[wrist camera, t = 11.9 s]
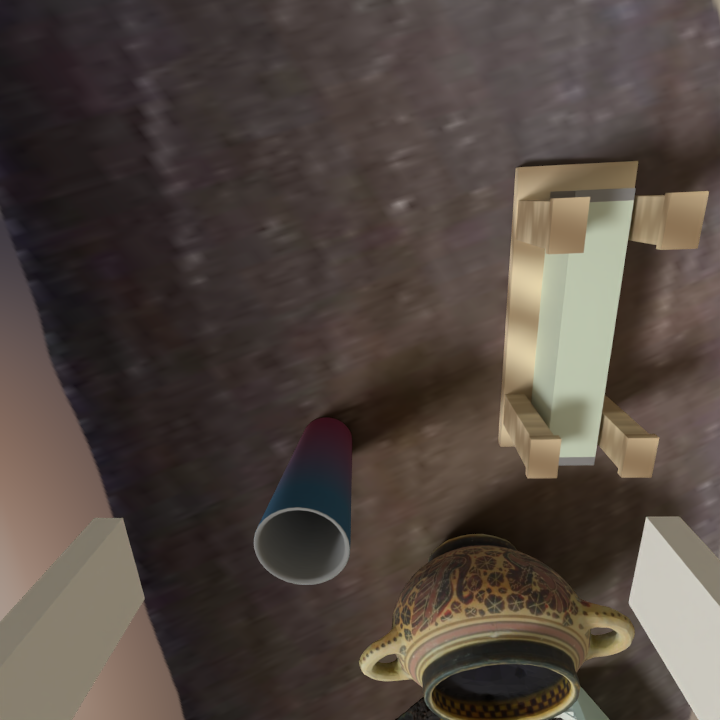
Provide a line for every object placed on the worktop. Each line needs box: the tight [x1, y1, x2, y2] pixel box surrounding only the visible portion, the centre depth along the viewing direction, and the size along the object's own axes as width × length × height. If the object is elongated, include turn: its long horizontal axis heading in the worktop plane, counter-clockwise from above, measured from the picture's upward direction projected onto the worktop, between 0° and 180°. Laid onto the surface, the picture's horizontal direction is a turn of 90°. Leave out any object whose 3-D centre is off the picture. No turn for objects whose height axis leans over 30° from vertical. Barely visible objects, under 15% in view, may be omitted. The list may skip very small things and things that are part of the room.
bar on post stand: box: [498, 161, 709, 478], centre depth 36 cm, size 25×9×10 cm, turn 3°
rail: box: [531, 188, 636, 465], centre depth 37 cm, size 22×4×5 cm, turn 3°
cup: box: [254, 417, 352, 585], centre depth 38 cm, size 7×7×15 cm
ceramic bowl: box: [359, 534, 635, 720], centre depth 43 cm, size 24×18×15 cm
